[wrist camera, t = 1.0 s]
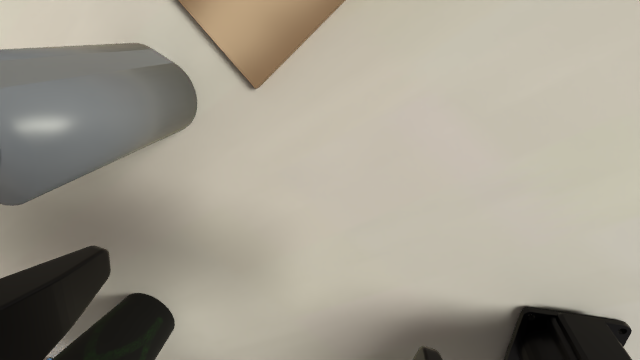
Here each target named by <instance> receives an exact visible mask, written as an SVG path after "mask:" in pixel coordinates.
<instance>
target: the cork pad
mask: <svg viewBox="0 0 640 360" xmlns="http://www.w3.org/2000/svg"><path fill="white" fill-rule="evenodd" d="M178 1H179V2H180V3H181V4H182V5H183V6H184V7H185V9H186V10H187V11H188V12H189V13H190V14H191V15H192V17H193V18H194V19H195V20H196V21H197V22H198V23H199V25H200V26H201V27H202V28H203V29H204V30H205V32H206V33H207V34H208V35H209V36H210V37H211V38H212V40H213V41H214V42H215V43H216V44H217V45H218V46H219V48H220V49H221V50H222V51H223V52H224V53H225V54H226V56H227V57H228V58H229V59H230V60H231V61H232V62H233V64H234V65H235V66H236V67H237V68H238V69H239V70H240V72H241V73H242V74H243V75H244V76H245V77H246V78H247V80H248V81H249V82H250V83H251V84H252V85H253V87H254V88H255V89H256V88H259V87H260V86H261V85H262V84H263V83H264V82H265V81H266V80H267V79H268V78H269V77H270V76H271V75H272V74H273V73H274V72H275V71H276V70H277V69H278V68H279V67H280V66H281V65H282V64H283V63H284V62H285V61H286V60H287V59H288V58H289V57H290V56H291V55H292V54H293V53H294V52H295V51H296V50H297V49H298V48H299V47H300V46H301V45H302V44H303V43H304V42H305V41H306V40H307V39H308V38H309V37H310V36H311V35H312V34H313V33H314V32H315V31H316V30H317V28H318V27H319V26H320V25H321V24H322V23H323V22H324V21H325V20H326V19H327V18H328V17H329V16H330V15H331V14H332V13H333V12H334V11H335V10H336V9H337V8H338V7H339V6H340V5H341V4H342V3H343V2H344V1H345V0H178Z"/></svg>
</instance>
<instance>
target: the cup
mask: <svg viewBox="0 0 640 360" xmlns="http://www.w3.org/2000/svg"><path fill="white" fill-rule="evenodd" d="M174 325H175V324H174V318H173V316H172V314H171V312H170V311H169V309H168V308H167V307H166V306H165V305H164V304H163V303H161V302H160V301H159V300H157V299H155V298H154V297H152V296H149V295H146V294H141V293H135V294H131V295H129V296H128V297H127V298H125V299H124V300H123V301H122V302H120V303H119V304H118V305H117V306H116V307H114V308H113V309H112V310H111V311H110V312H108V313H107V314H106V315H105V316H104V317H102V318H101V319H100V320H99V321H98V322H96V323H95V324H94V325H93V326H92V327H90V328H89V329H88V330H87V331H86V332H84V333H83V334H82V335H81V336H80V337H78V338H77V339H76V340H75V341H74V342H72V343H71V344H70V345H69V346H68V347H66V348H65V349H64V350H63V351H62V352H60V353H59V354H58V355H57V356H56V357H54V358H53V359H52V360H155V358H156V357H157V355H158V354H159V352H160V350H161V349H162V347H163V345H164V344H165V342H166V341H167V339H168V337H169V336H170V334H171V332H172V331H173V329H174Z"/></svg>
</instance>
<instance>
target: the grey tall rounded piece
mask: <svg viewBox="0 0 640 360" xmlns="http://www.w3.org/2000/svg"><path fill="white" fill-rule="evenodd" d="M196 110H197V97H196V92H195V89H194V87H193V84H192V82H191V80H190V79H189V77H188V76H187V74H186V73H185V72H184V71H183V70H182V69H181V68H180V67H179V66H178V65H176V64H175V63H174V62H172V61H170V60H169V59H167V58H166V57H164V56H163V55H161V54H159V53H158V52H156V51H155V50H153V49H151V48H150V47H148V46H145V45H143V44H139V43H125V44H105V45H84V46H64V47H43V48H23V49H2V50H0V204H3V205H11V206H13V205H20V204H23V203H25V202H28V201H30V200H32V199H34V198H36V197H38V196H41V195H43V194H45V193H47V192H49V191H51V190H53V189H56V188H58V187H60V186H62V185H64V184H66V183H69V182H71V181H73V180H75V179H77V178H79V177H81V176H84V175H86V174H88V173H90V172H92V171H94V170H97V169H99V168H101V167H103V166H105V165H107V164H109V163H112V162H114V161H116V160H118V159H120V158H122V157H124V156H127V155H129V154H131V153H133V152H135V151H137V150H140V149H142V148H144V147H146V146H148V145H150V144H152V143H155V142H157V141H159V140H161V139H163V138H165V137H168V136H170V135H172V134H174V133H176V132H178V131H180V130H183V129H184V128H186V127H187V126H189V124H190V123H191V122H192V121H193V119H194V117H195V114H196Z"/></svg>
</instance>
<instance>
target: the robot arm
mask: <svg viewBox="0 0 640 360" xmlns="http://www.w3.org/2000/svg"><path fill="white" fill-rule="evenodd" d="M110 271H111V269H110V259H109V252H108V251H107V250H106V249H104V248H101V247H97V246H89V247H86V248H84V249H81V250H78V251H75V252H73V253H70V254H67V255H64V256H62V257H59V258H56V259H53V260H50V261H48V262H45V263H42V264H39V265H37V266H34V267H31V268H28V269H26V270H23V271H20V272H17V273H15V274H12V275H9V276H6V277H3V278H1V279H0V360H43V359H44V358H45V357H46V356H47V355H48V354H49V353H50V351H51V350H52V349H53V348H54V347H55V346H56V345H57V344H58V342H59V341H60V340H61V339H62V338H63V337H64V336H65V334H66V333H67V332H68V331H69V330H70V329H71V327H72V326H73V325H74V324H75V322H76V321H77V320H78V318H79V317H80V316H81V314H82V313H83V312H84V310H85V309H86V308H87V306H88V305H89V303H90V302H91V301H92V299H93V298H94V297H95V295H96V294H97V293H98V291H99V290H100V289H101V287H102V286H103V284H104V283H105V282H106V280H107V279H108V277H109V275H110ZM528 315H530V316H528ZM631 331H632V330H631V328H630V327H629V326H628V324H627V323H625V322H623V321H618V320H611V319H604V318H598V317H591V316H584V315H577V314H571V313H564V312H557V311H550V310H544V309H537V308H524V309H523V310H522V311H521V313H520V316H519V319H518V321H517V324H516V327H515V330H514V333H513V336H512V339H511V341H510V344H509V347H508V350H507V353H506V356H505V359H504V360H632V359H631V357H630V356H629V355H628V353H627V352H626V350H625V349H624V348H623V346H624V345H625V343H626V341H627V339H628V337H629V336H630V334H631ZM413 360H443V359H442V357H441V356H440V354H439V352H438V351H437V350H435V349H432V348H428V347H425V346H422V347H420V349H419V350H418V352H417V354H416V355H415V357H414V359H413Z"/></svg>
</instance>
